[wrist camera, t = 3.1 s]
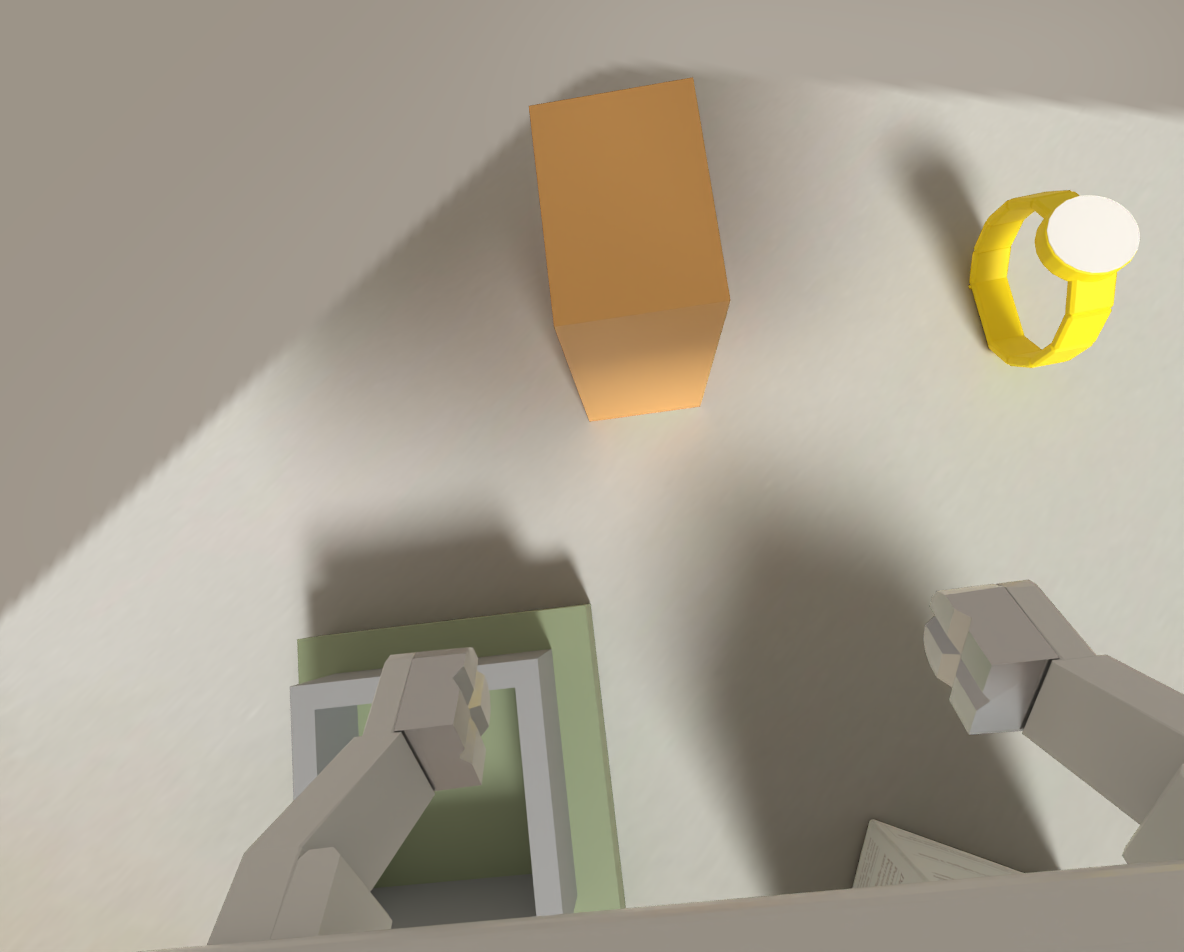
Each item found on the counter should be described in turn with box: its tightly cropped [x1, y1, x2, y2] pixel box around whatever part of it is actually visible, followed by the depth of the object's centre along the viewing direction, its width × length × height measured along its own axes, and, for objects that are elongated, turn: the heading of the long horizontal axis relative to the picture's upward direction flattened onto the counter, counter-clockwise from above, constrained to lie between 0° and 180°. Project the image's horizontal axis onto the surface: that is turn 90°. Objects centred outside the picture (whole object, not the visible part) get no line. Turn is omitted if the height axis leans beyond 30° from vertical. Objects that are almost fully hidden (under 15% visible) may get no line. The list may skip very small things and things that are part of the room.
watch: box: [968, 190, 1140, 368], centre depth 23 cm, size 6×3×6 cm, turn 10°
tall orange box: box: [529, 77, 730, 422], centre depth 22 cm, size 7×5×10 cm
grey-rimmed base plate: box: [290, 604, 626, 929], centre depth 22 cm, size 11×11×5 cm
